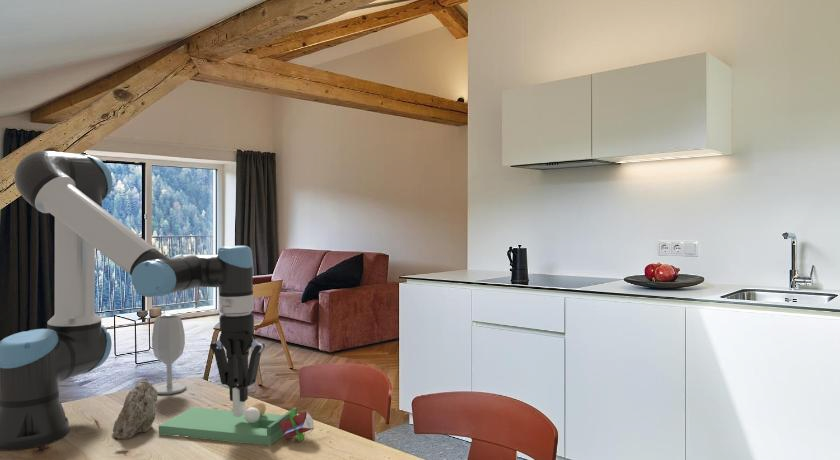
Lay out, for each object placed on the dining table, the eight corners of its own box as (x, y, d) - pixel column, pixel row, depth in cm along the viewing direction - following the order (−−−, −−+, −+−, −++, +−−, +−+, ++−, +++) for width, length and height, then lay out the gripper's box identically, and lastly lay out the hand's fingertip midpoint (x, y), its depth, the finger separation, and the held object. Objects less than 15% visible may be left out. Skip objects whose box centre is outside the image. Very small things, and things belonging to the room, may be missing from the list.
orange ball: (247, 418, 145) (247, 403, 145) (255, 413, 148) (255, 398, 148) (261, 419, 144) (261, 404, 144) (268, 414, 147) (268, 399, 147)
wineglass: (145, 393, 171) (143, 318, 170) (167, 385, 179) (166, 313, 178) (171, 396, 168) (169, 320, 167) (192, 387, 176) (191, 314, 176)
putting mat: (158, 434, 140) (158, 416, 140) (193, 415, 153) (193, 399, 153) (270, 445, 133) (270, 427, 133) (297, 424, 146) (296, 407, 146)
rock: (156, 412, 137) (118, 403, 135) (142, 451, 139) (105, 443, 137) (168, 381, 150) (134, 373, 148) (156, 418, 152) (122, 410, 150)
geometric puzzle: (268, 435, 133) (290, 406, 133) (276, 424, 140) (297, 396, 140) (295, 455, 133) (317, 426, 133) (302, 443, 140) (322, 415, 140)
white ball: (238, 420, 141) (244, 407, 140) (246, 415, 144) (252, 402, 143) (251, 428, 140) (257, 415, 139) (258, 423, 143) (265, 410, 143)
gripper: (202, 315, 139) (204, 418, 140) (254, 317, 136) (256, 422, 137) (220, 309, 147) (223, 407, 148) (270, 311, 143) (272, 411, 144)
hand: (239, 414), depth 142 cm, fingers closed
